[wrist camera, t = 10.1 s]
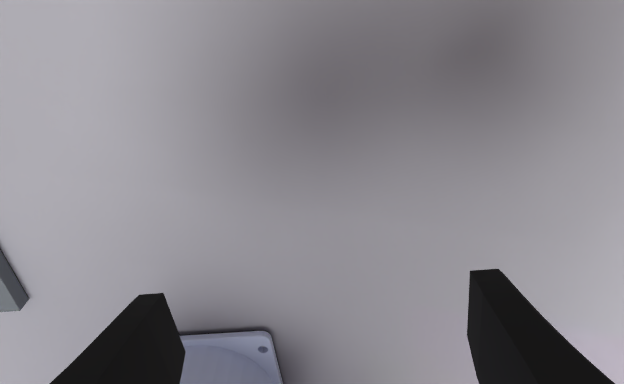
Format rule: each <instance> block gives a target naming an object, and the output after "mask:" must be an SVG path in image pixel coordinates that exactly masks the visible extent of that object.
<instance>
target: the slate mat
mask: <svg viewBox="0 0 624 384" xmlns="http://www.w3.org/2000/svg"><path fill="white" fill-rule="evenodd" d="M28 300H29V299H28V297H27V295H26V294H25V292H24V290H23V288H22V287H21V285H20V283H19V281H18V280H17V278H16V276H15V274H14V273H13V271H12V269H11V267H10V266H9V264H8V262H7V260H6V259H5V257H4V255H3V253H2V252H1V250H0V312H9V311H20V310H21V309H22V308H23V306H24V305H25V304H26V302H27V301H28Z"/></svg>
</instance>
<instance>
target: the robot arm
mask: <svg viewBox="0 0 624 384" xmlns="http://www.w3.org/2000/svg"><path fill="white" fill-rule="evenodd" d="M467 336H468V341H469V345H470V350H471V354H472V358H473V362H474V367H475V371H476V375H477V379H478V381H479V384H615V383H614V382H612V381H611V380H610V379H609V378H608V377H607V376H605V375H604V374H603V373H602V372H601V371H600V370H599V369H598V368H596V367H595V366H594V365H593V364H592V363H591V362H590V361H589V360H587V359H586V358H585V357H584V356H583V355H582V354H581V353H580V352H579V351H578V350H577V349H576V348H574V347H573V346H572V345H571V344H570V343H569V342H568V341H567V340H566V339H565V338H564V337H563V336H562V335H561V334H560V333H559V332H558V331H557V330H556V329H555V328H554V327H553V326H552V325H551V324H550V323H549V322H548V321H547V320H546V319H545V318H544V317H543V316H542V315H541V314H540V313H539V312H538V311H537V310H536V309H535V308H534V307H533V306H532V304H531V303H530V302H529V301H528V300H527V299H526V298H525V297H524V296H523V295H522V294H521V293H520V292H519V290H518V289H517V288H516V287H515V286H514V285H513V284H512V283H511V282H510V280H509V279H508V278H507V277H506V276H505V275H504V274H503V273H502V272H501V271H500V270H499V269H489V270H475V271H470V285H469V307H468V329H467ZM261 346H265V347H261ZM50 384H283V382H282V378H281V374H280V370H279V366H278V362H277V358H276V353H275V349H274V345H273V341H272V337H271V335H270V334H269V333H268V332H265V331H249V332H233V333H217V334H201V335H185V336H179V333H178V330H177V328H176V325H175V322H174V320H173V317H172V315H171V312H170V309H169V307H168V304H167V302H166V299H165V296H164V294H163V293H158V294H144V295H139V296H138V297H136V298H135V299H134V300H133V301H132V302H131V303H130V304H129V305H128V306H127V307H126V308H125V309H124V310H123V311H122V312H121V313H120V314H119V315H118V316H117V317H116V319H115V320H114V321H113V322H112V323H111V324H110V325H109V326H108V327H107V328H106V329H105V330H104V331H103V332H102V333H101V334H100V335H99V336H98V337H97V338H96V339H95V340H94V341H93V342H92V343H91V344H90V345H89V346H88V347H87V348H86V349H85V350H84V351H83V352H82V353H81V354H80V355H79V356H78V357H77V358H76V359H75V360H74V361H73V362H72V363H71V364H70V365H69V366H68V367H67V368H66V369H65V370H64V371H63V372H62V373H61V374H60V375H58V376H57V377H56V378H55V379H54V380H53V381H52V382H51V383H50Z"/></svg>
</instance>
